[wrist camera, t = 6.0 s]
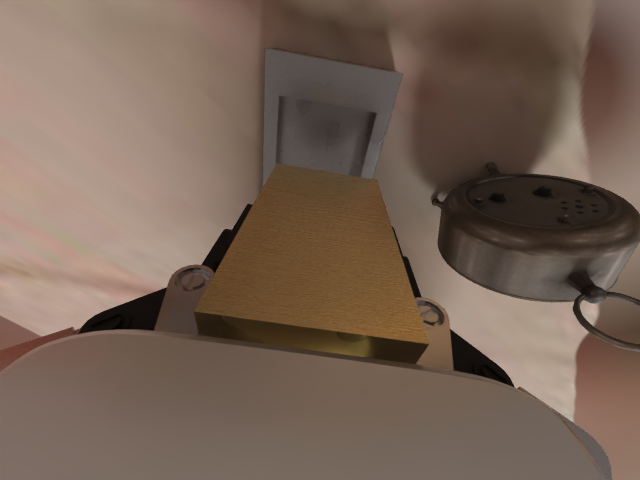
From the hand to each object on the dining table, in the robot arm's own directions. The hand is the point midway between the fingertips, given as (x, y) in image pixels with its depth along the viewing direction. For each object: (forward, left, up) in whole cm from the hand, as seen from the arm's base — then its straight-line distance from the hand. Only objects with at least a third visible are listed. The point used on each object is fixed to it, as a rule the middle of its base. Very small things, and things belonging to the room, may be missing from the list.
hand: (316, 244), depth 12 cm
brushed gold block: (0, 0, -3) cm, 3 cm away
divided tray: (0, +5, -13) cm, 14 cm away
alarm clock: (-15, +1, -14) cm, 20 cm away
